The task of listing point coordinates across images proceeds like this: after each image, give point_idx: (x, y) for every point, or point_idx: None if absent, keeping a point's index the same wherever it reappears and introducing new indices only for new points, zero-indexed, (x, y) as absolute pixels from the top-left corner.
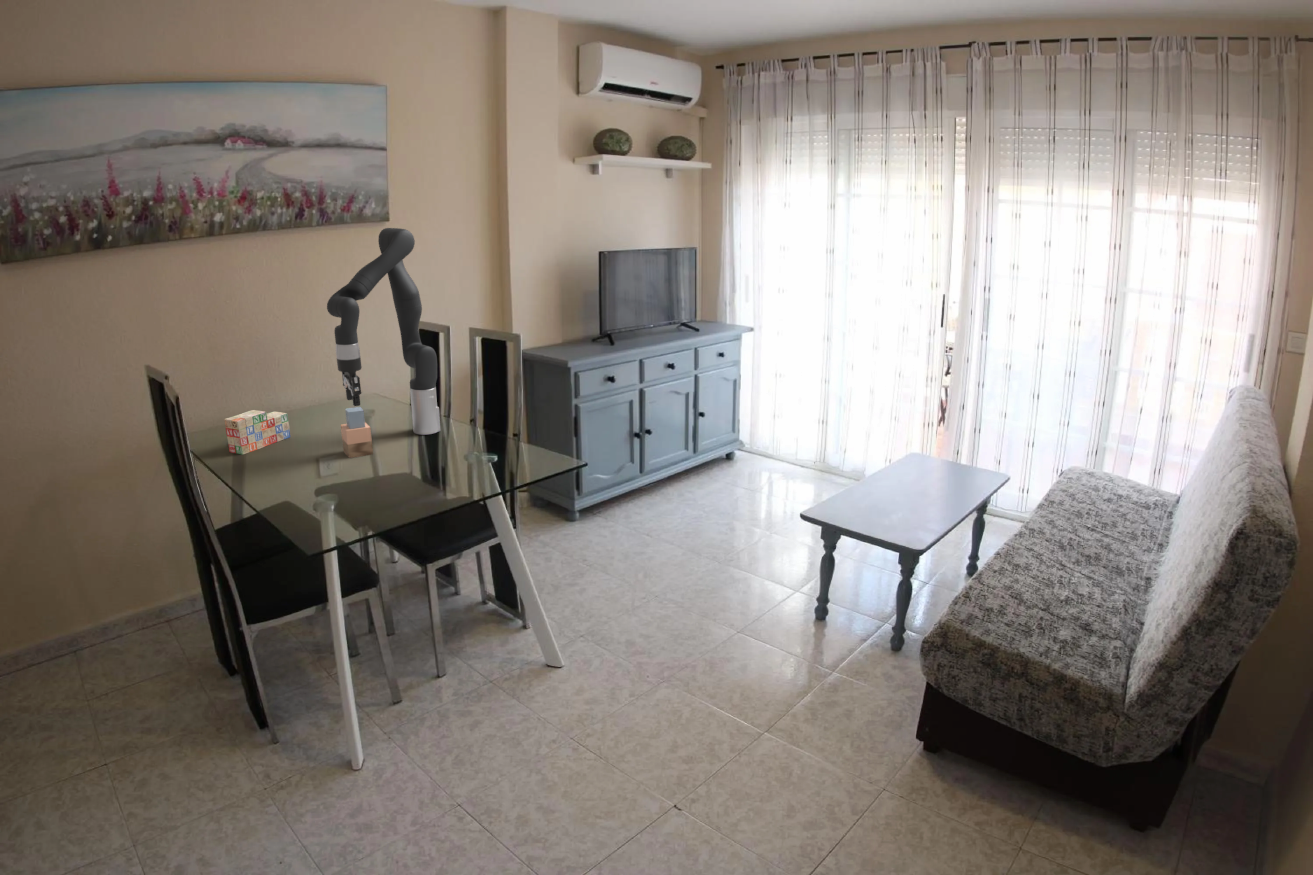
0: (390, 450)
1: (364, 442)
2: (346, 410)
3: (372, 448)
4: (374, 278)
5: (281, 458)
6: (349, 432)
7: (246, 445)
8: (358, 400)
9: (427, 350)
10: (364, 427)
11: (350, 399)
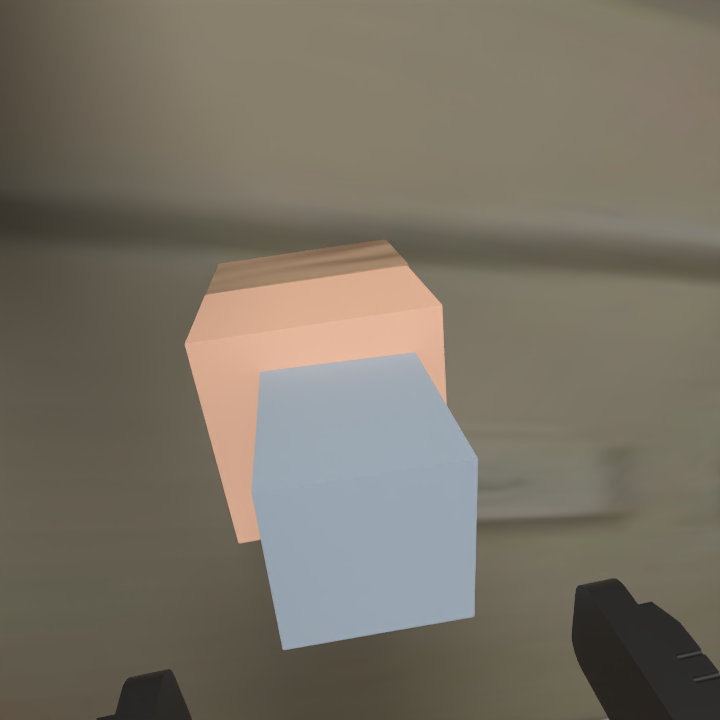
0: (351, 98)
1: None
2: (360, 632)
3: (393, 250)
4: None
5: (264, 663)
6: None
7: None
8: (713, 679)
9: None
10: (422, 359)
11: (182, 706)
